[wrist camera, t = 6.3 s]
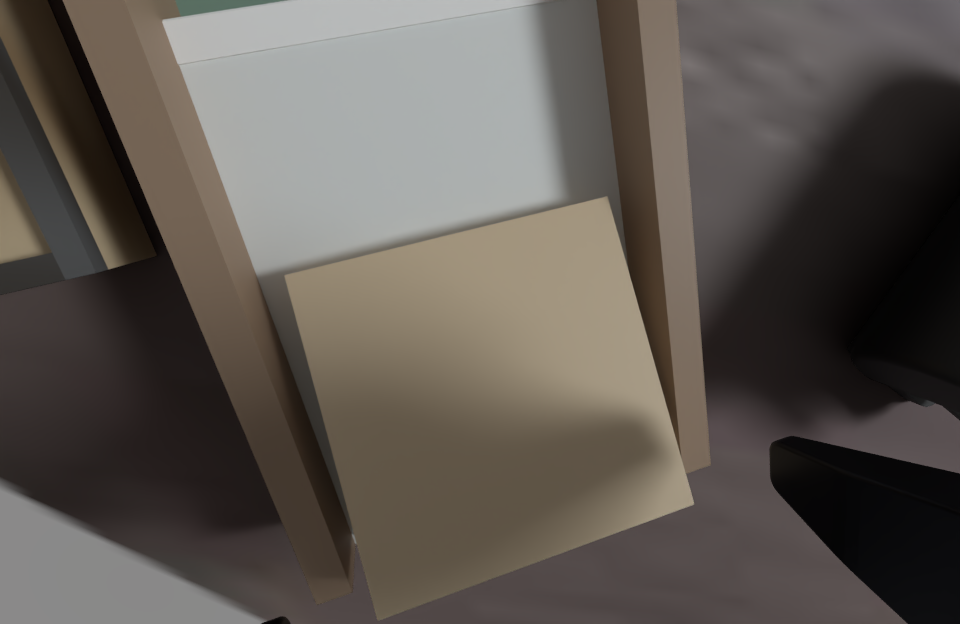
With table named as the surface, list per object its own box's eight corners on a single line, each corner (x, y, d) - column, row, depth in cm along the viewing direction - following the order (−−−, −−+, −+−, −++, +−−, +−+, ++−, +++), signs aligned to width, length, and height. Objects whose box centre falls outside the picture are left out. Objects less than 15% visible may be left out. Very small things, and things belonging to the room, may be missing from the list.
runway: (645, 411, 14) (775, 517, 10) (329, 515, 13) (303, 699, 8) (541, -458, 9) (730, -1203, 4) (-39, -454, 7) (-787, -1623, 3)
